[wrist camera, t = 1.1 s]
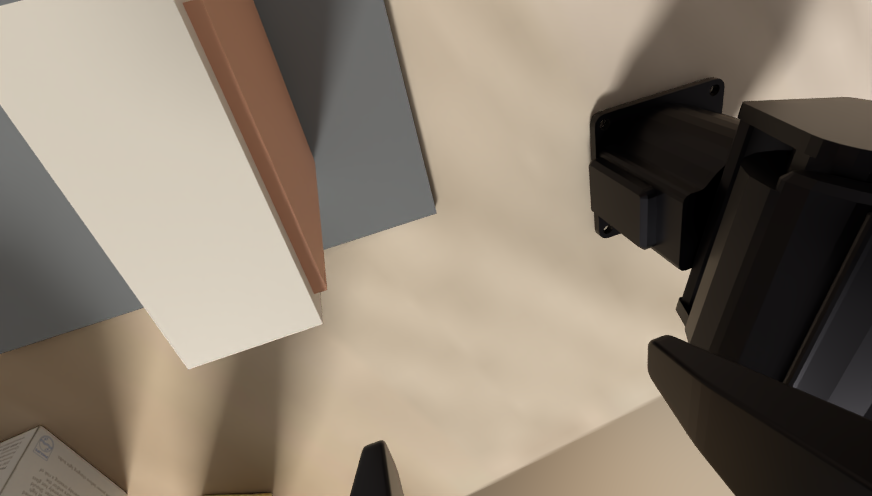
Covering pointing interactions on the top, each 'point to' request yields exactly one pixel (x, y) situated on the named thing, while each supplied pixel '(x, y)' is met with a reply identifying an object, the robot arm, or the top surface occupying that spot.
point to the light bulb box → (48, 469)
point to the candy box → (260, 495)
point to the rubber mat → (326, 136)
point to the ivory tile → (175, 159)
